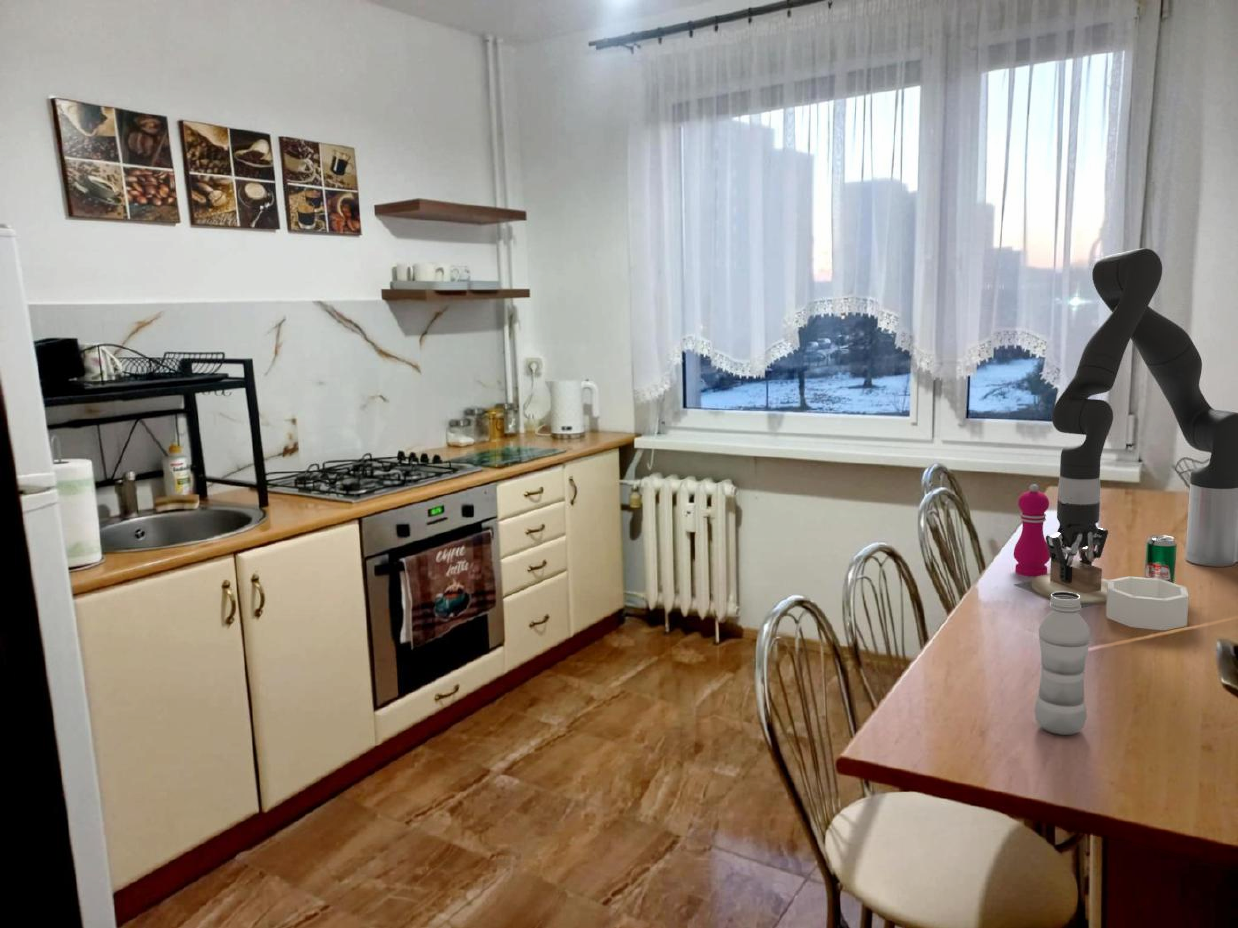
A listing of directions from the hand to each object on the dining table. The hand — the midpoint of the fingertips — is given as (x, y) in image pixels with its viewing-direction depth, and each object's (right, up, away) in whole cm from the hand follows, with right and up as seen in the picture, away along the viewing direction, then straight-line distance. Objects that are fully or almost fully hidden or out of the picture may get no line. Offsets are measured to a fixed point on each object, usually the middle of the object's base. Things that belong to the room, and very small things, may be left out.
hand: (1075, 580), depth 177 cm
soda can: (+14, -3, -4) cm, 15 cm away
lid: (0, -2, 0) cm, 2 cm away
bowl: (+5, -5, -15) cm, 17 cm away
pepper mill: (-3, -1, +13) cm, 13 cm away
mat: (0, -2, 0) cm, 3 cm away
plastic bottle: (-30, -14, -53) cm, 62 cm away
